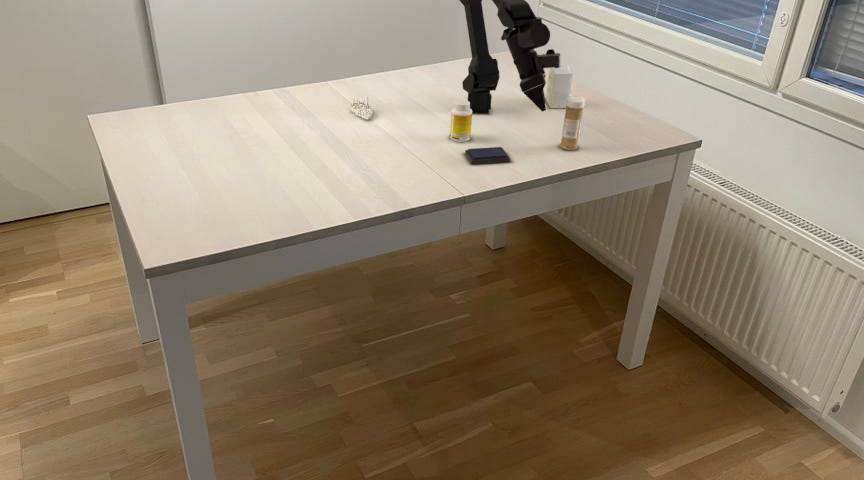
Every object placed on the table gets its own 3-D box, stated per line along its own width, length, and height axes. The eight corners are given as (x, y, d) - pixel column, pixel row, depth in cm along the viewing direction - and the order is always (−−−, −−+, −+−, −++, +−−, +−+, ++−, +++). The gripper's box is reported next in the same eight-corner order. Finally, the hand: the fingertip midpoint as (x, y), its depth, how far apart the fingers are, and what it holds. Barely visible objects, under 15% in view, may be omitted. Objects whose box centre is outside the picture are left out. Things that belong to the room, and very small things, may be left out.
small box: (568, 108, 215) (573, 74, 209) (549, 108, 215) (554, 73, 209) (563, 99, 222) (568, 65, 216) (545, 99, 222) (549, 65, 216)
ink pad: (471, 164, 182) (471, 158, 181) (464, 154, 187) (465, 148, 186) (509, 162, 183) (510, 156, 182) (501, 151, 189) (502, 145, 188)
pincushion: (377, 120, 206) (377, 101, 203) (356, 122, 205) (356, 103, 202) (364, 105, 216) (364, 87, 213) (345, 107, 214) (344, 89, 211)
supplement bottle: (473, 141, 194) (476, 104, 189) (455, 143, 193) (457, 107, 187) (464, 133, 199) (467, 97, 193) (446, 136, 197) (448, 100, 191)
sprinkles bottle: (579, 146, 192) (588, 97, 184) (572, 152, 189) (581, 102, 181) (563, 142, 194) (571, 94, 187) (556, 148, 191) (564, 99, 183)
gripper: (553, 42, 176) (575, 101, 180) (551, 35, 193) (572, 89, 197) (510, 61, 180) (532, 119, 184) (512, 52, 197) (533, 105, 201)
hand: (544, 107), depth 192 cm, fingers open, 9 cm apart
